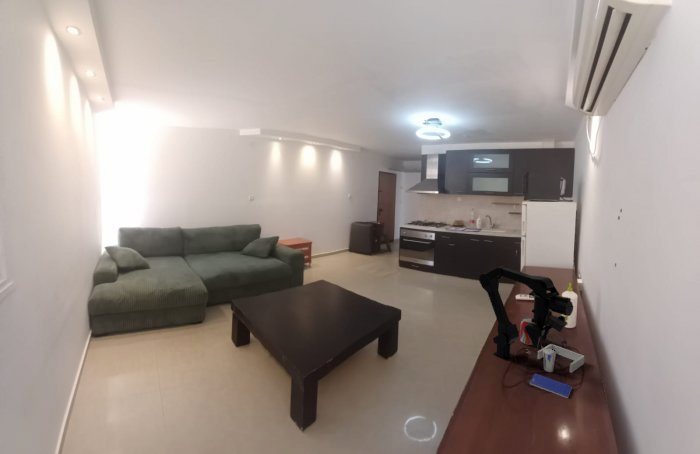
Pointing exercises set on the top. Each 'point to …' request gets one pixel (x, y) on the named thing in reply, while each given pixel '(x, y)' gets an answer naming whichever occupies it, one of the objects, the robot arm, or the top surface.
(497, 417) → the top surface
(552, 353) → the milkshake
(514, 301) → the top surface
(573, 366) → the box
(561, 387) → the hard drive
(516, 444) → the top surface
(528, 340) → the soda can
